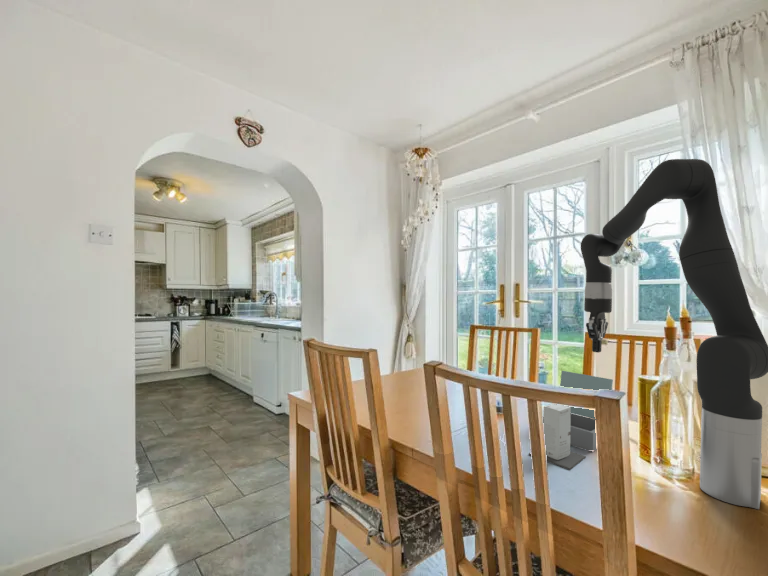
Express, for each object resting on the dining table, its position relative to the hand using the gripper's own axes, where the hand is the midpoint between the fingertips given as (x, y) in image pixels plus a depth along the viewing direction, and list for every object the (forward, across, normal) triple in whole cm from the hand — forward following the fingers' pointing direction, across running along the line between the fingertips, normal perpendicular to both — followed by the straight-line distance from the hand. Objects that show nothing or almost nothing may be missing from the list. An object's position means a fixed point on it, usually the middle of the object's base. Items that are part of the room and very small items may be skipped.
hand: (596, 351), depth 117 cm
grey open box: (+23, +17, 0) cm, 29 cm away
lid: (+12, +10, 0) cm, 16 cm away
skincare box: (+23, +33, +2) cm, 40 cm away
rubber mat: (+23, +33, +2) cm, 40 cm away
